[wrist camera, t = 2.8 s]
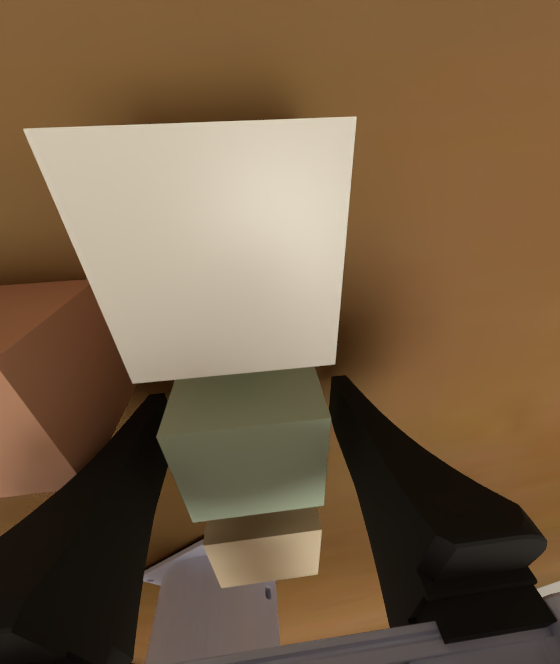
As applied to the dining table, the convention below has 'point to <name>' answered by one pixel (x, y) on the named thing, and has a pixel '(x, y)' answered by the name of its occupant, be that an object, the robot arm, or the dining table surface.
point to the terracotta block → (55, 384)
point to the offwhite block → (208, 238)
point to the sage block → (247, 442)
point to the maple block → (264, 546)
